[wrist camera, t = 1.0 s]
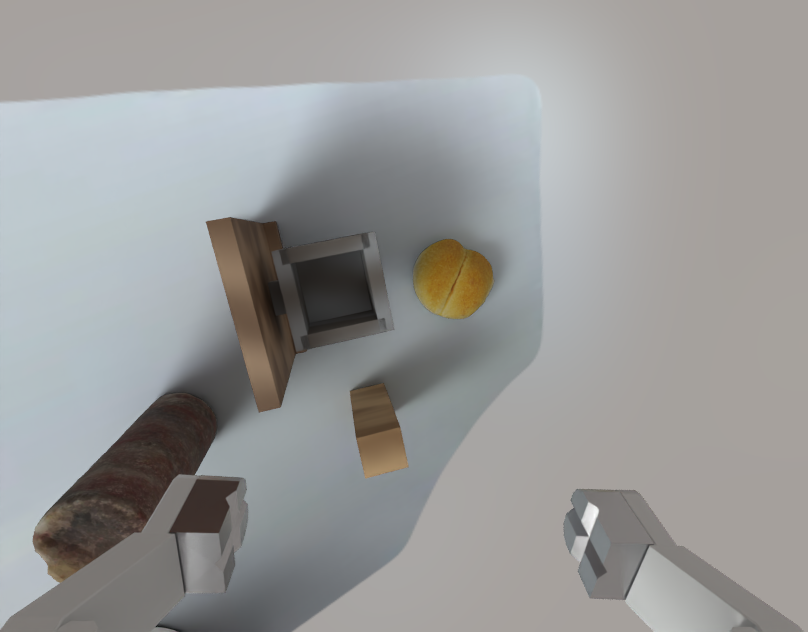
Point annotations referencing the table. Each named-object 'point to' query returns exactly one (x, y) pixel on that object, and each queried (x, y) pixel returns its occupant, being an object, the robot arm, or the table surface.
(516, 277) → the table surface
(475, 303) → the bread roll
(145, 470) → the brown rough cylinder
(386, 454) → the wooden block
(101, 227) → the table surface
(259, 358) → the bracket
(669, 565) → the robot arm
